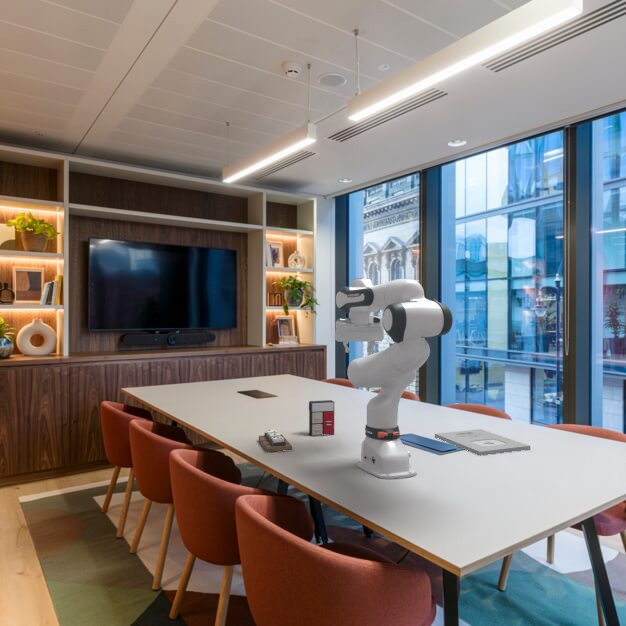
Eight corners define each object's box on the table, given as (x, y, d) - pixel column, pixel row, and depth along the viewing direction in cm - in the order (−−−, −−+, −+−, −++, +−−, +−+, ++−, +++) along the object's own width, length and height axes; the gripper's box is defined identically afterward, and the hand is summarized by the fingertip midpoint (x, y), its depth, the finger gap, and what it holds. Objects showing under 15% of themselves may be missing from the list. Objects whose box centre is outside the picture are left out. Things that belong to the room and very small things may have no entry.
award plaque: (480, 433, 226) (480, 429, 226) (530, 451, 198) (530, 445, 198) (434, 438, 218) (434, 433, 218) (479, 457, 190) (479, 451, 190)
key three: (283, 442, 197) (283, 438, 197) (273, 443, 196) (273, 438, 196) (281, 440, 201) (281, 435, 201) (271, 440, 200) (271, 436, 200)
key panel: (291, 450, 196) (291, 442, 196) (267, 452, 193) (267, 443, 193) (281, 438, 214) (281, 431, 214) (258, 440, 212) (258, 432, 212)
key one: (280, 439, 203) (280, 434, 203) (270, 439, 201) (270, 435, 201) (278, 436, 206) (278, 432, 206) (269, 437, 205) (269, 433, 205)
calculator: (311, 436, 219) (311, 402, 219) (308, 434, 223) (308, 401, 223) (334, 435, 222) (334, 401, 222) (332, 432, 226) (332, 400, 226)
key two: (277, 435, 208) (277, 431, 208) (268, 436, 207) (268, 431, 207) (275, 433, 212) (275, 429, 212) (266, 433, 211) (266, 429, 211)
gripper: (338, 319, 193) (336, 354, 195) (386, 319, 199) (384, 353, 200) (333, 317, 199) (331, 351, 201) (379, 317, 205) (378, 350, 206)
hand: (358, 352), depth 200 cm, fingers open, 8 cm apart
